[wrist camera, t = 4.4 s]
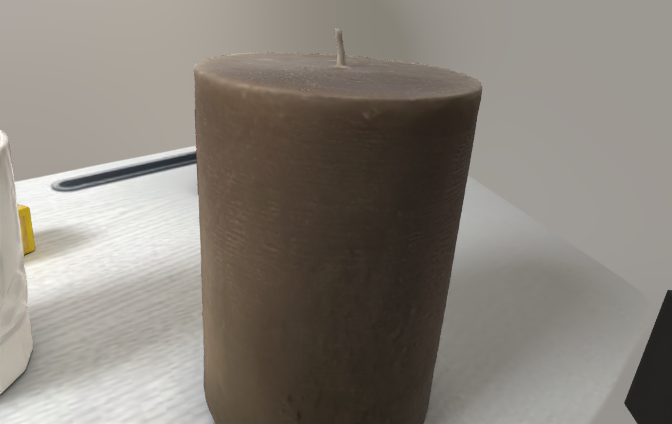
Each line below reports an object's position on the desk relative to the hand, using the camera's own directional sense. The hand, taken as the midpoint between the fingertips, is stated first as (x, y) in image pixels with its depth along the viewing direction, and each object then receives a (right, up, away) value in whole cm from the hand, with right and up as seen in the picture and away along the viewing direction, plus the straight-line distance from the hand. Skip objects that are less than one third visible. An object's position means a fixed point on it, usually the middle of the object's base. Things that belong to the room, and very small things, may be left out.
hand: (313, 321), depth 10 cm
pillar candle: (0, -6, +13) cm, 14 cm away
